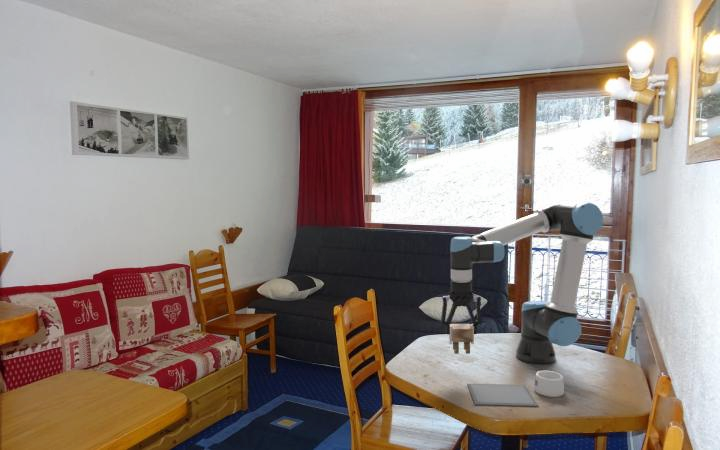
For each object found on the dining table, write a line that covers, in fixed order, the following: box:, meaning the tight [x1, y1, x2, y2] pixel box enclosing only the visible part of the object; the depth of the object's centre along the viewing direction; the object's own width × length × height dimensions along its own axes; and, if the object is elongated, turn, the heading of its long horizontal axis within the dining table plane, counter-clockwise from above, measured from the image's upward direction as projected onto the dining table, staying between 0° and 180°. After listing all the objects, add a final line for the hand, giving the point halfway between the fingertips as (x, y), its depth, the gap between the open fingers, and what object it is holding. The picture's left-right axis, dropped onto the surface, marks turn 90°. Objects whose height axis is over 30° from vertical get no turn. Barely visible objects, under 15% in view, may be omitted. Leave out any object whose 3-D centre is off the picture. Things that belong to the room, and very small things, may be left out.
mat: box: [466, 383, 539, 408], centre depth 167 cm, size 20×16×1 cm
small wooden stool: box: [450, 323, 473, 355], centre depth 179 cm, size 7×7×9 cm
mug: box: [533, 370, 565, 398], centre depth 171 cm, size 12×10×6 cm
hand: (461, 342), depth 180 cm, fingers closed on small wooden stool, 7 cm apart
